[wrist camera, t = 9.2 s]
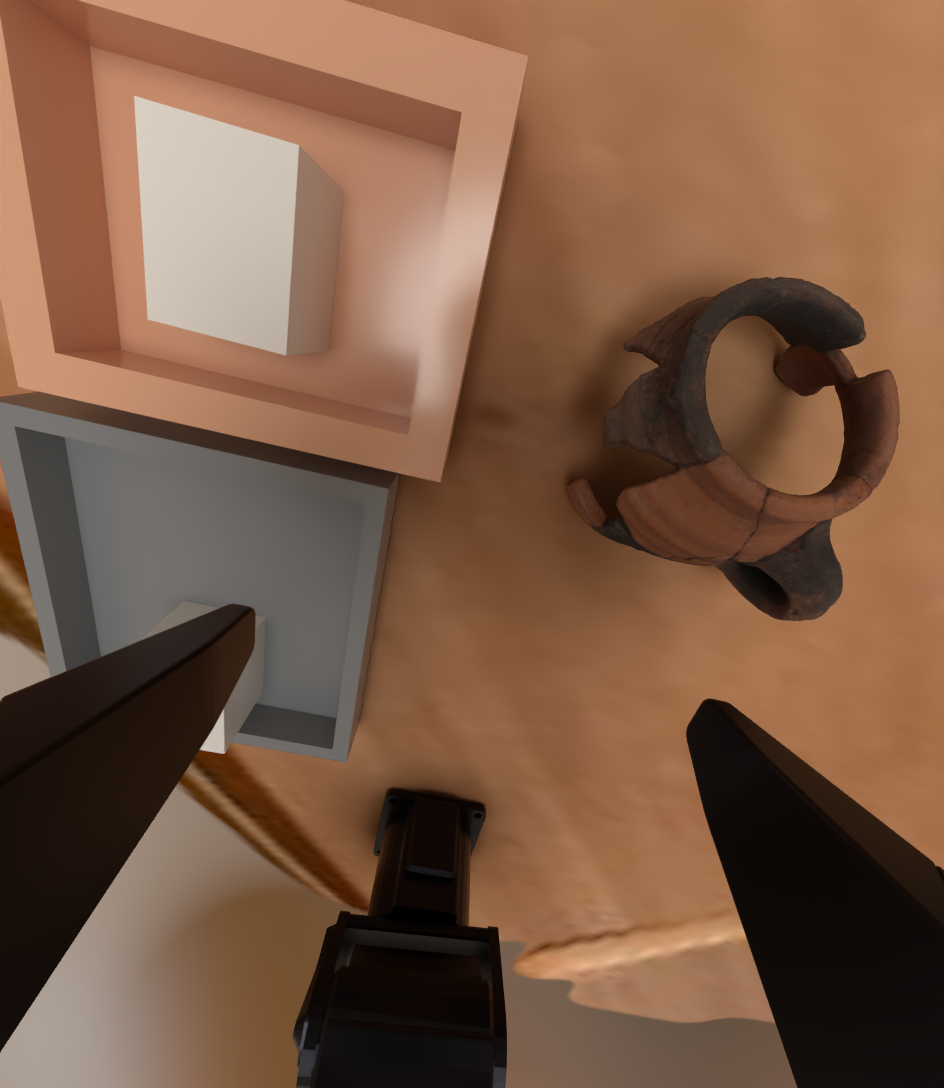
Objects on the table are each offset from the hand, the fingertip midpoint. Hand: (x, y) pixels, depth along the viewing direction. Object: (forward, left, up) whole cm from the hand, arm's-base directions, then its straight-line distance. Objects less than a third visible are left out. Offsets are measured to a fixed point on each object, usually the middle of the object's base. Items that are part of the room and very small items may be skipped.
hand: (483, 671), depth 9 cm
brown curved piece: (+3, -8, -12) cm, 15 cm away
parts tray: (-8, +11, -12) cm, 18 cm away
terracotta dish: (+6, +9, -12) cm, 16 cm away
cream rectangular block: (+6, +9, -11) cm, 16 cm away
